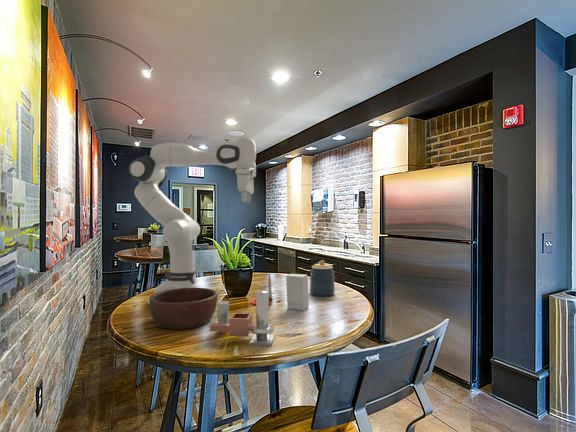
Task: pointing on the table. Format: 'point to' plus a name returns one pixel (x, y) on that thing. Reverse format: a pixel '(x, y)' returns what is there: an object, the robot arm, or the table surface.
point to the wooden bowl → (183, 307)
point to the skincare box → (297, 291)
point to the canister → (322, 280)
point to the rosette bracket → (250, 323)
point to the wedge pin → (223, 312)
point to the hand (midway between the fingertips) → (246, 202)
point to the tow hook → (269, 292)
